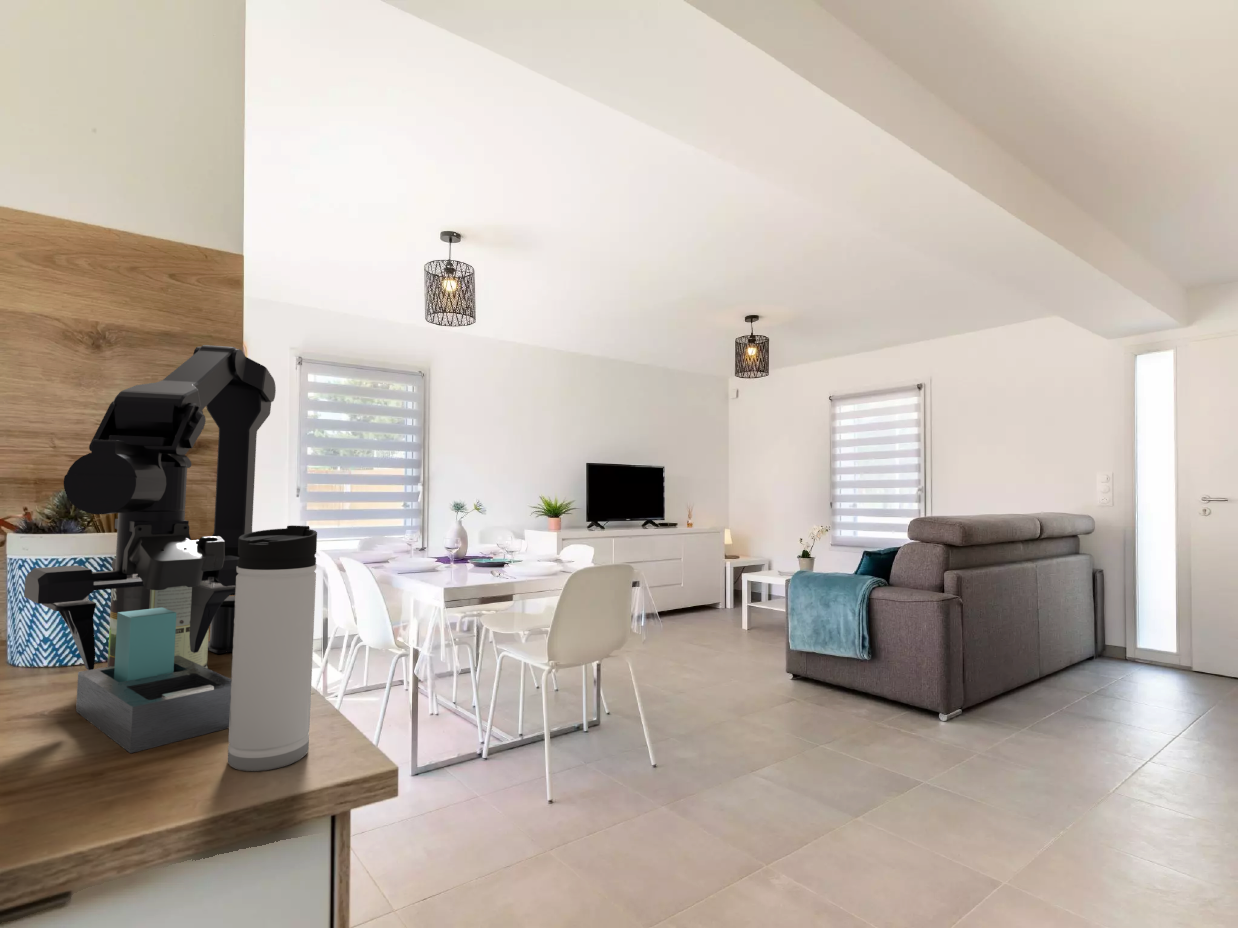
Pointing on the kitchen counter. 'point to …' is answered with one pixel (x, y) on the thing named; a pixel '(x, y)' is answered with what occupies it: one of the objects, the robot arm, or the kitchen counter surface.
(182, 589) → the coffee can
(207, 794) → the kitchen counter surface
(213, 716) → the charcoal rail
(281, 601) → the travel mug
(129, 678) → the teal peg
